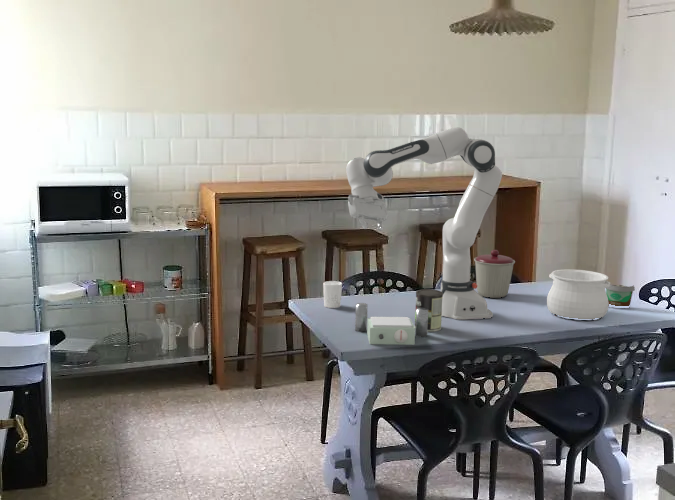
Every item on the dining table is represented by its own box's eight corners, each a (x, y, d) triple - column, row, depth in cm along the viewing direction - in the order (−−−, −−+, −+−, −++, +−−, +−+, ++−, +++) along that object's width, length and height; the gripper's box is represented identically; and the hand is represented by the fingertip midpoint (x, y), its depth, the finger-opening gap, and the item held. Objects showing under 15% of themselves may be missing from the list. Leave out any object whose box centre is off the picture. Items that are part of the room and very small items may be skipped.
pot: (618, 315, 323) (622, 275, 320) (592, 326, 305) (596, 284, 302) (561, 304, 340) (564, 266, 337) (533, 314, 322) (536, 274, 319)
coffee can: (417, 331, 293) (418, 295, 291) (412, 324, 303) (413, 289, 301) (444, 331, 294) (445, 295, 292) (438, 324, 304) (440, 289, 302)
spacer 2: (426, 333, 291) (427, 307, 289) (427, 337, 287) (429, 310, 285) (414, 333, 291) (415, 307, 289) (416, 337, 287) (417, 310, 285)
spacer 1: (366, 328, 296) (367, 303, 294) (367, 331, 292) (367, 306, 290) (354, 328, 296) (355, 302, 294) (355, 331, 292) (356, 305, 290)
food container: (602, 307, 335) (604, 285, 333) (603, 304, 340) (604, 282, 339) (632, 311, 330) (634, 288, 328) (633, 307, 336) (635, 285, 334)
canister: (516, 301, 343) (519, 254, 339) (475, 300, 343) (478, 253, 340) (508, 291, 361) (511, 246, 357) (469, 290, 361) (471, 245, 357)
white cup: (339, 309, 324) (340, 285, 322) (321, 307, 325) (321, 284, 323) (343, 304, 331) (343, 281, 329) (325, 303, 333) (325, 280, 331)
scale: (409, 334, 290) (410, 316, 289) (414, 345, 276) (415, 327, 275) (367, 333, 290) (367, 315, 288) (369, 345, 276) (370, 326, 275)
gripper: (353, 190, 298) (362, 223, 294) (385, 196, 314) (394, 228, 310) (341, 197, 302) (350, 230, 298) (374, 203, 317) (383, 234, 313)
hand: (373, 229), depth 304 cm, fingers open, 8 cm apart
